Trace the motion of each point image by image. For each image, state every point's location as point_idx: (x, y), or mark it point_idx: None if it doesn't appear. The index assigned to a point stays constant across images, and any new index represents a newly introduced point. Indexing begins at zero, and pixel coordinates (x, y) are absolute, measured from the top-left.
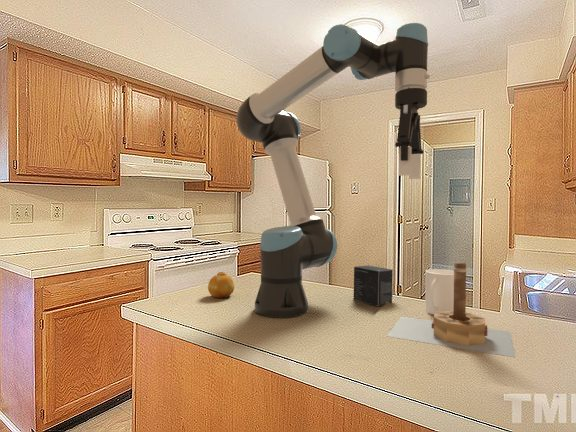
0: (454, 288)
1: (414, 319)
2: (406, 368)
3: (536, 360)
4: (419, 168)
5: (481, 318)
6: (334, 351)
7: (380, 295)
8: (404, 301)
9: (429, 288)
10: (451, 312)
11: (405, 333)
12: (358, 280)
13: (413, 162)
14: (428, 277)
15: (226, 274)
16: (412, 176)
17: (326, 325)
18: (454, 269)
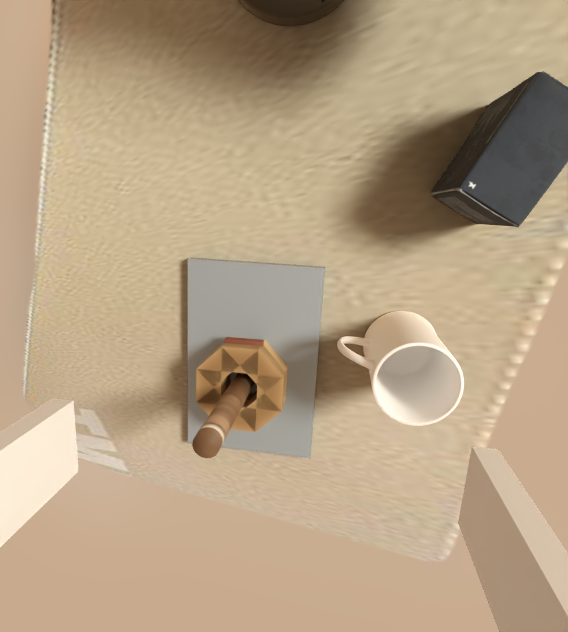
0: (216, 406)
1: (313, 297)
2: (103, 301)
3: (216, 466)
4: (488, 591)
5: (251, 425)
6: (107, 182)
7: (443, 197)
8: (514, 253)
9: (382, 340)
10: (270, 378)
11: (216, 289)
12: (502, 107)
13: (523, 599)
14: (388, 346)
15: None
16: (471, 482)
17: (227, 116)
18: (203, 425)
